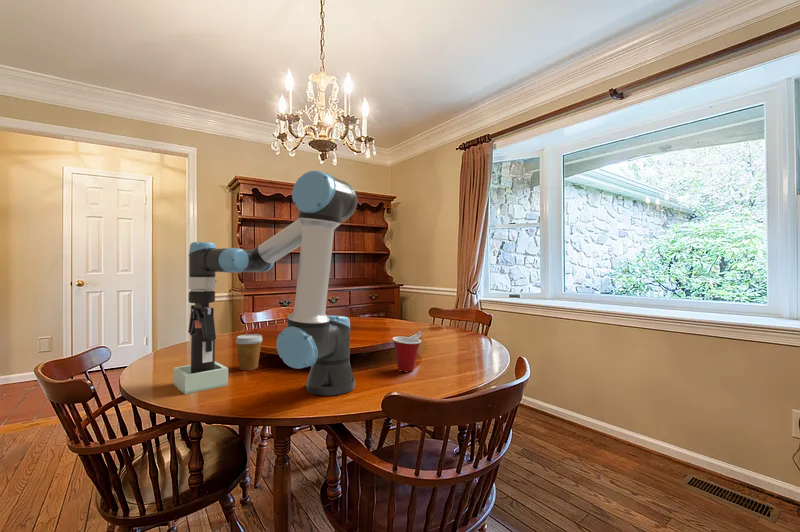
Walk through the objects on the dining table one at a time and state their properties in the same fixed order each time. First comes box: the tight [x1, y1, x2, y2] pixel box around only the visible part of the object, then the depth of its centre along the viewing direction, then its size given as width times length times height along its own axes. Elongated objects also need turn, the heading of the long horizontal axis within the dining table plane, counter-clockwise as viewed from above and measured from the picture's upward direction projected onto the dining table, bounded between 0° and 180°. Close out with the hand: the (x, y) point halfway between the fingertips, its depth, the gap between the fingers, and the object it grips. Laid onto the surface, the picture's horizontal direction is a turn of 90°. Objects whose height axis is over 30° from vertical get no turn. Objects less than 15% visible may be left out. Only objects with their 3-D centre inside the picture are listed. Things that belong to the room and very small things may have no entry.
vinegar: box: [190, 320, 216, 374], centre depth 118 cm, size 7×7×20 cm
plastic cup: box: [392, 336, 422, 371], centre depth 137 cm, size 11×11×12 cm
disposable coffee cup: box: [235, 333, 263, 371], centre depth 138 cm, size 10×10×12 cm
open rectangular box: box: [172, 361, 229, 395], centre depth 118 cm, size 12×12×6 cm
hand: (201, 358), depth 118 cm, fingers open, 11 cm apart
